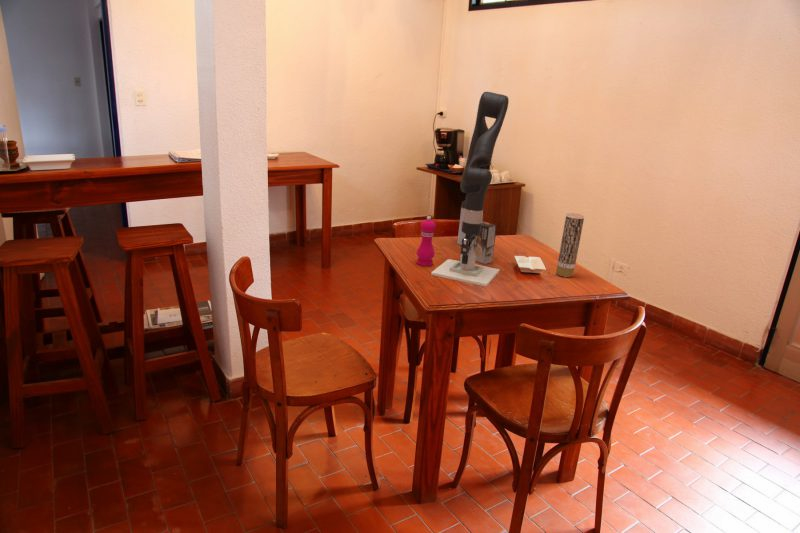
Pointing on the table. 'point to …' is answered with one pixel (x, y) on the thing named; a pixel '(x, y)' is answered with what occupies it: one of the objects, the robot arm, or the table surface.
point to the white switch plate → (466, 273)
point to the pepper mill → (426, 243)
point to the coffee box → (486, 243)
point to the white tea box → (469, 260)
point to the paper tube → (570, 244)
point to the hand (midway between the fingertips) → (467, 260)
